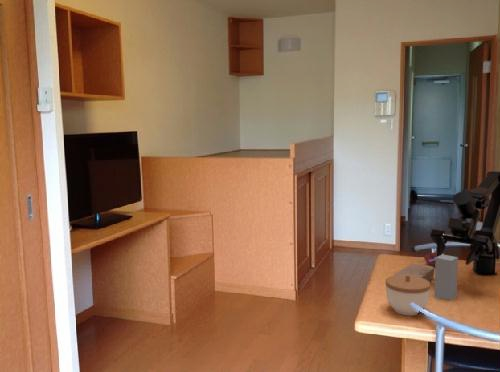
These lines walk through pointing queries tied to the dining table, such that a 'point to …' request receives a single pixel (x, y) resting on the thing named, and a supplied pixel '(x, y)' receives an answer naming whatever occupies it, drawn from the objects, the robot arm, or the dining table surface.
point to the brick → (418, 271)
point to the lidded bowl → (407, 293)
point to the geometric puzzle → (430, 257)
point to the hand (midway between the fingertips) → (451, 261)
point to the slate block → (446, 277)
